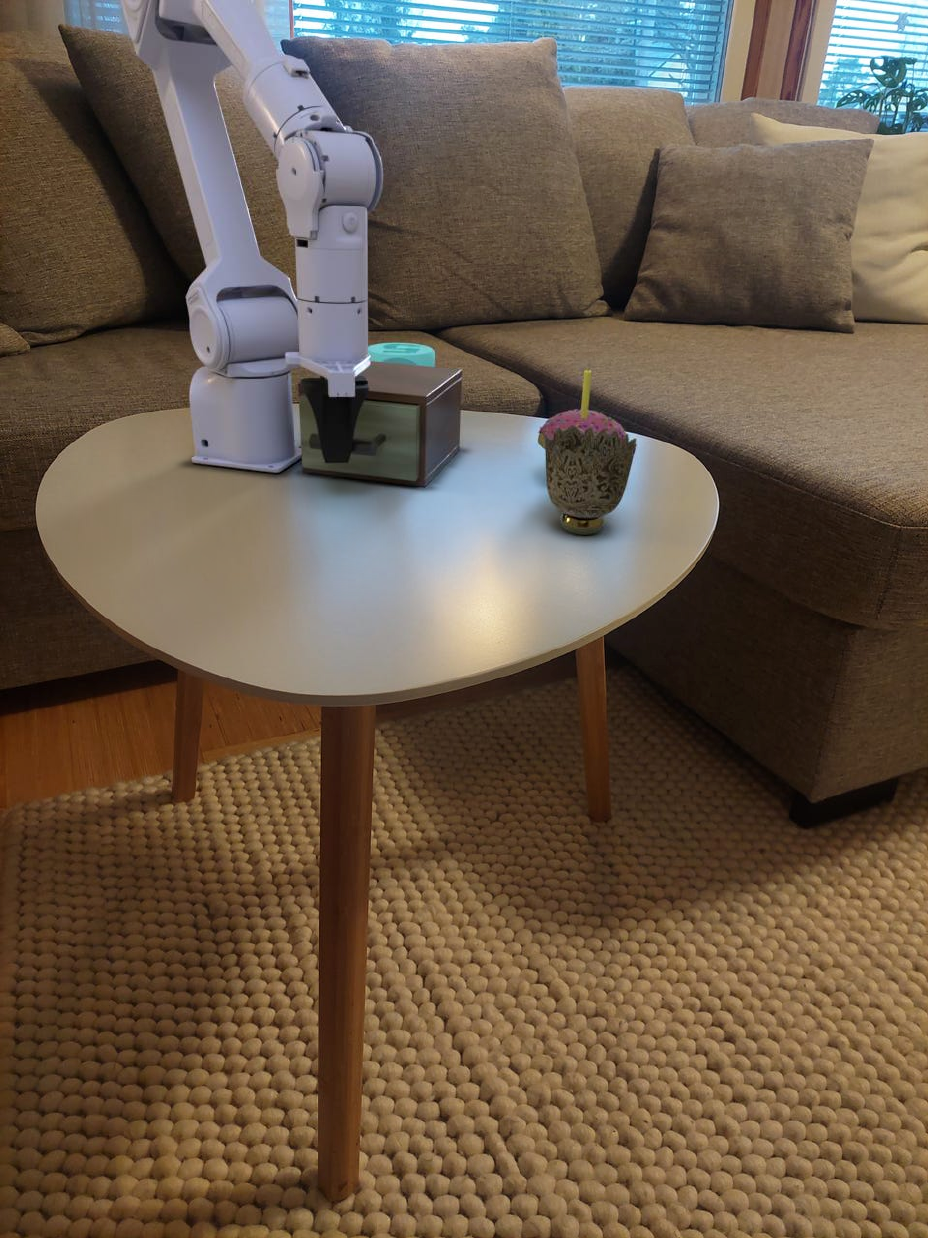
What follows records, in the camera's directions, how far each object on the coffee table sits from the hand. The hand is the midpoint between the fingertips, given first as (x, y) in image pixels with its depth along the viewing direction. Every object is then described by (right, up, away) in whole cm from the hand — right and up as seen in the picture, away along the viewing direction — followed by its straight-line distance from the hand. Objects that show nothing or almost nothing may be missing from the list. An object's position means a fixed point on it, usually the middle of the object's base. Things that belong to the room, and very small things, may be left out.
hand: (336, 461), depth 77 cm
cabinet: (+3, +2, +12) cm, 13 cm away
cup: (+21, -6, -3) cm, 22 cm away
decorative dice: (+4, +10, +28) cm, 30 cm away
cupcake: (+22, -1, +8) cm, 24 cm away
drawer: (+2, +1, +9) cm, 9 cm away
